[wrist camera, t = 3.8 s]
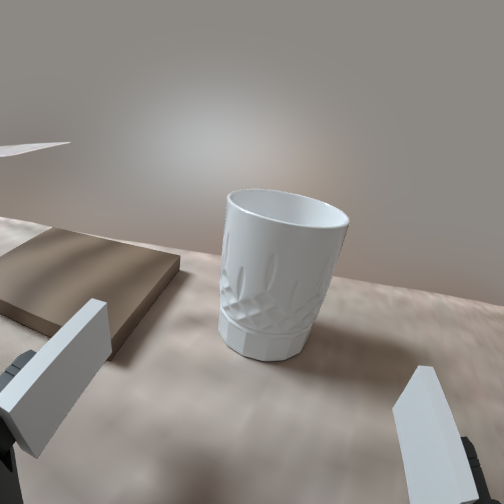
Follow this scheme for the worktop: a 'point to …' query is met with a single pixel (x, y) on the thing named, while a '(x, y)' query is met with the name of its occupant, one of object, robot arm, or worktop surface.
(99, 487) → the worktop surface
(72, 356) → the robot arm
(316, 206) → the white cup
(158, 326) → the worktop surface
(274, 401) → the worktop surface
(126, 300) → the board
